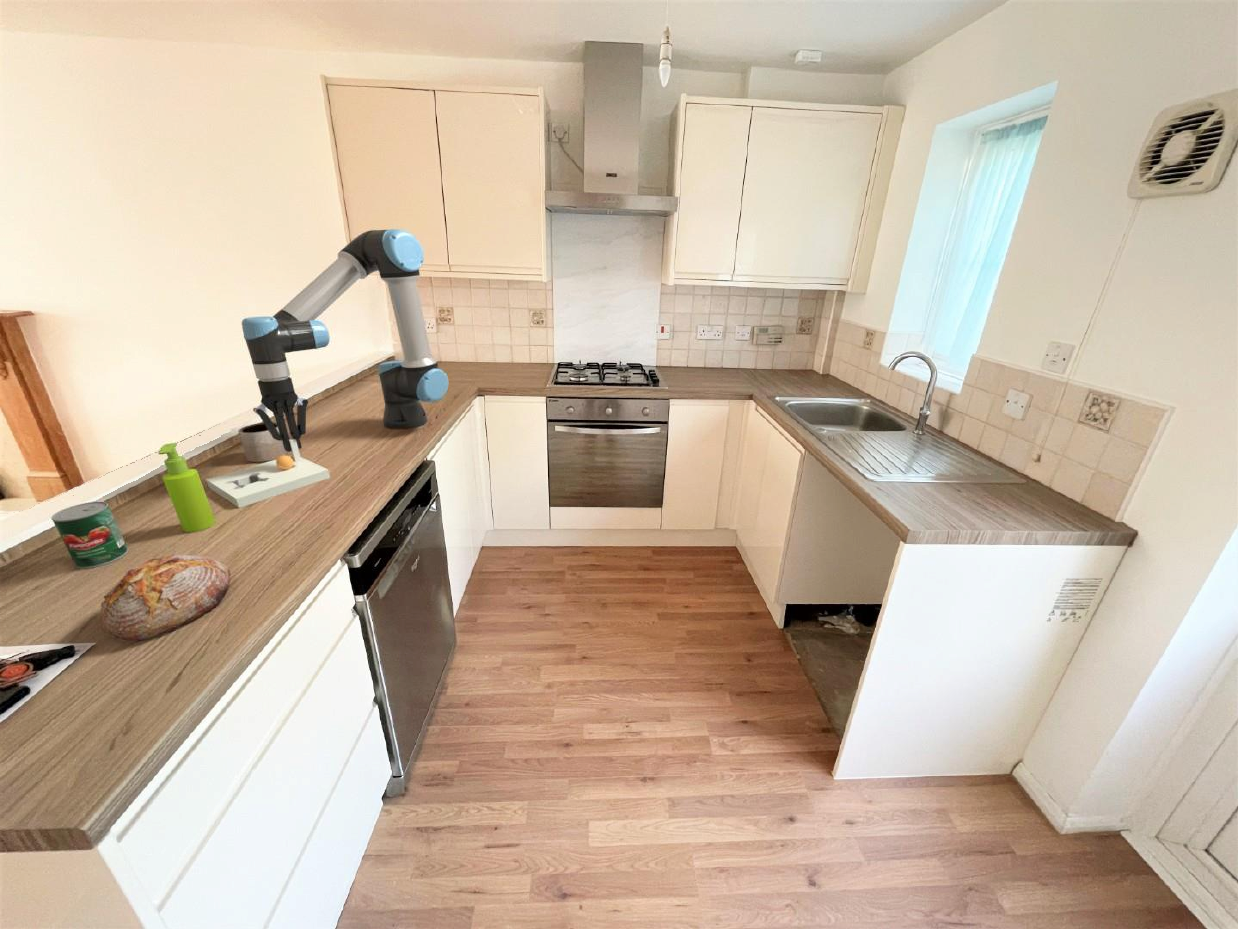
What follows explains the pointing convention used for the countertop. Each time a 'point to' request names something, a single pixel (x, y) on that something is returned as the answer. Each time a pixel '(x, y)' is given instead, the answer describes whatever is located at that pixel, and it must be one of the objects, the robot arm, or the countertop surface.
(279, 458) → the ball
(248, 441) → the planter
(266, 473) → the plate
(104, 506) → the canned tomato
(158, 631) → the bread
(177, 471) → the soap dispenser
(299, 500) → the countertop surface
